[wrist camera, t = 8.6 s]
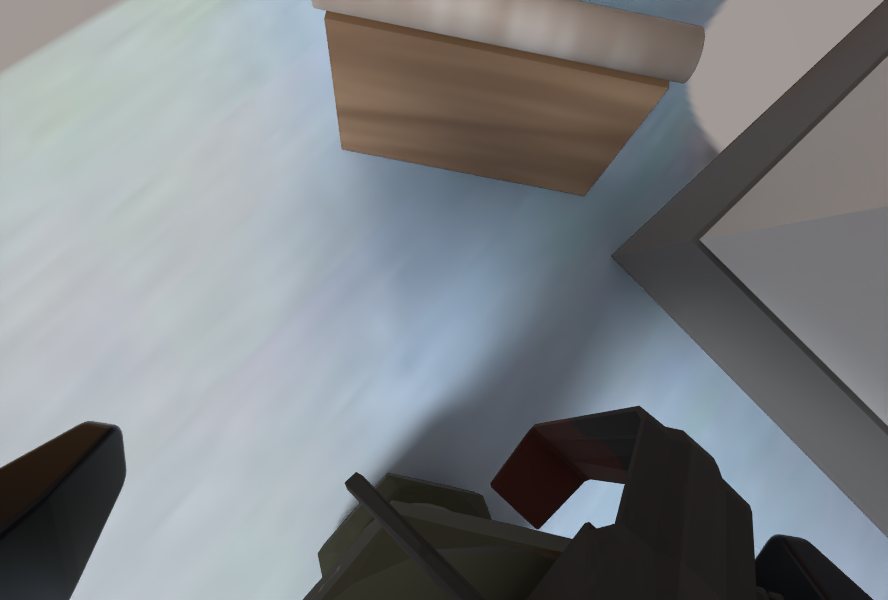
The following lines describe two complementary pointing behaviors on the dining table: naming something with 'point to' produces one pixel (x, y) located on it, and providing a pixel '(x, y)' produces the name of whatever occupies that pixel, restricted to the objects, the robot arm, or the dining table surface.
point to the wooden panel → (501, 83)
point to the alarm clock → (795, 263)
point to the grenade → (546, 555)
